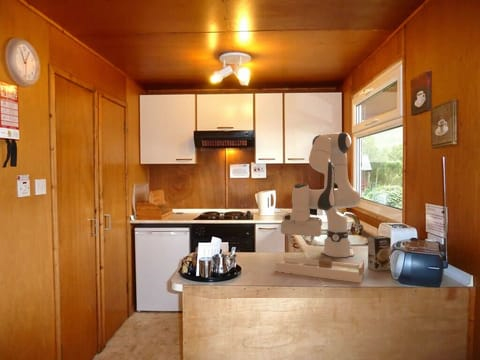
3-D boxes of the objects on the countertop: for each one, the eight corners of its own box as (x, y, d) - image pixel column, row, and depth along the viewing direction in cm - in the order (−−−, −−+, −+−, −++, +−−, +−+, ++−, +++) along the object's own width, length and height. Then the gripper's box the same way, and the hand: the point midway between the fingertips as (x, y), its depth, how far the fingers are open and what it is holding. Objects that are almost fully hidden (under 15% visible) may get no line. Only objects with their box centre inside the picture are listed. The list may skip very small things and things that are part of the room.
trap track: (284, 264, 179) (284, 252, 179) (364, 274, 161) (364, 260, 161) (276, 271, 167) (275, 258, 167) (361, 282, 150) (361, 268, 149)
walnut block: (321, 265, 166) (321, 257, 166) (331, 266, 164) (331, 258, 164) (319, 268, 162) (319, 260, 162) (329, 269, 160) (329, 261, 159)
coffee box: (375, 271, 166) (375, 238, 166) (367, 267, 172) (367, 236, 172) (391, 269, 169) (391, 237, 168) (382, 266, 175) (382, 235, 174)
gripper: (323, 216, 166) (323, 244, 166) (283, 214, 174) (283, 241, 175) (320, 218, 160) (320, 247, 160) (279, 216, 169) (279, 243, 169)
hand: (300, 244), depth 168 cm, fingers open, 8 cm apart
